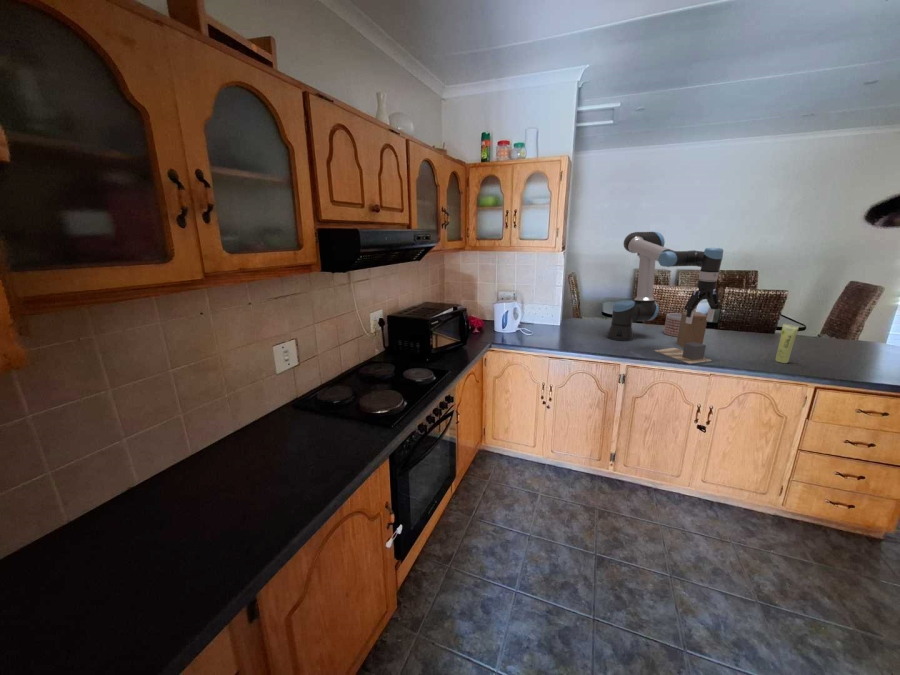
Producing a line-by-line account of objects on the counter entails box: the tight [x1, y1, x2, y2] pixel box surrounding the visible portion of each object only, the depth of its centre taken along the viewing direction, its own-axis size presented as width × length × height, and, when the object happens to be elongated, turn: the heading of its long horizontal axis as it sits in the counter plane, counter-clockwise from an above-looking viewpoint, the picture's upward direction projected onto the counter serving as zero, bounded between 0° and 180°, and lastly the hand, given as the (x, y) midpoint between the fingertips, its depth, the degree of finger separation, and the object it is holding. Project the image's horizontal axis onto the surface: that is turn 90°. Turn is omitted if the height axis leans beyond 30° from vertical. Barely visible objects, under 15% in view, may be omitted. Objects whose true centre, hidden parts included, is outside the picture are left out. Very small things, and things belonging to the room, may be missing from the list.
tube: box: [775, 323, 800, 364], centre depth 179 cm, size 6×5×20 cm
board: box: [653, 347, 712, 365], centre depth 190 cm, size 22×15×1 cm
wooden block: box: [676, 311, 708, 348], centre depth 203 cm, size 10×10×20 cm
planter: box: [663, 312, 682, 338], centre depth 230 cm, size 14×14×13 cm
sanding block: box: [682, 342, 707, 362], centre depth 183 cm, size 6×7×8 cm
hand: (698, 322), depth 180 cm, fingers open, 13 cm apart
